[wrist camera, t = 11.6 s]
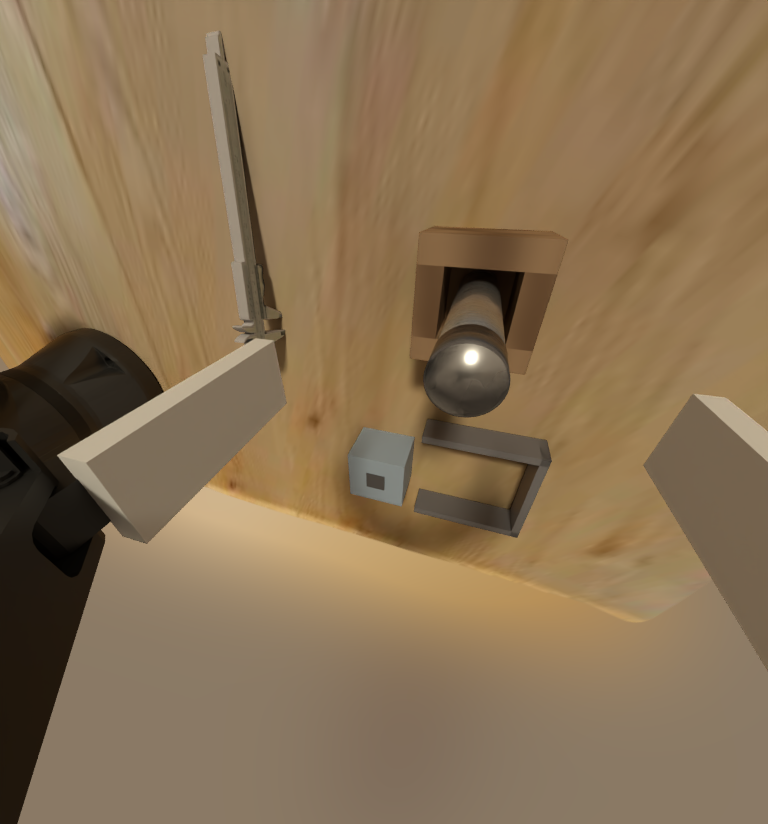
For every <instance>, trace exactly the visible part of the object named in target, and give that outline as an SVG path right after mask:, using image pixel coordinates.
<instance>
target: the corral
mask: <svg viewBox="0 0 768 824" xmlns="http://www.w3.org/2000/svg"><path fill="white" fill-rule="evenodd" d="M422 443H427V444H432V445H437V446H442V447H447V448H452V449H457V450H462V451H467V452H472V453H477V454H482V455H487V456H492V457H497V458H502V459H507V460H512V461H517V462H522V463H527V464H528V466H527V468H526V471H525V473H524V476H523V478H522V481H521V483H520V486H519V489H518V491H517V494H516V496H515V499H514V501H513V504H512V506H511V509H510V510H509V509H505V508H500V507H496V506H492V505H488V504H483V503H479V502H475V501H471V500H466V499H462V498H458V497H453V496H449V495H445V494H441V493H436V492H432V491H428V490H424V489H419V492H418V496H417V500H416V504H415V508H414V512H417V513H421V514H425V515H429V516H433V517H437V518H441V519H444V520H448V521H452V522H456V523H460V524H464V525H468V526H472V527H476V528H480V529H484V530H488V531H492V532H496V533H500V534H504V535H508V536H512V537H516V538H517V537H518V535H519V533H520V530H521V528H522V526H523V524H524V522H525V519H526V517H527V515H528V513H529V510H530V508H531V506H532V504H533V502H534V499H535V497H536V495H537V493H538V491H539V488H540V486H541V484H542V482H543V479H544V477H545V475H546V473H547V471H548V468H549V466H550V464H551V462H552V460H551V456H550V452H549V447H548V443H547V440H542V439H536V438H531V437H525V436H520V435H514V434H509V433H503V432H498V431H492V430H486V429H481V428H475V427H470V426H464V425H459V424H453V423H448V422H442V421H436V420H431V419H427V423H426V426H425V429H424V433H423V436H422Z"/></svg>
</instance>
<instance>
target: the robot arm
mask: <svg viewBox="0 0 768 824" xmlns="http://www.w3.org/2000/svg"><path fill="white" fill-rule="evenodd" d="M285 404H286V398H285V393H284V388H283V383H282V378H281V373H280V368H279V363H278V358H277V353H276V348H275V343H274V341H273V340H266V339H258V338H255V339H254V340H252V341H250V342H249V343H247V344H245V345H244V346H242V347H240V348H238V349H237V350H235V351H233V352H232V353H230V354H228V355H227V356H225V357H223V358H221V359H220V360H218V361H216V362H215V363H213V364H211V365H210V366H208V367H206V368H204V369H203V370H201V371H199V372H198V373H196V374H194V375H193V376H191V377H189V378H187V379H186V380H184V381H182V382H181V383H179V384H177V385H176V386H174V387H172V388H170V389H169V390H167V391H165V392H164V393H162V390H161V388H160V386H159V384H158V382H157V381H156V379H155V378H154V376H153V375H152V373H151V372H150V370H149V369H148V368H147V367H146V365H145V364H144V363H143V362H142V361H141V360H140V359H139V358H138V357H137V356H136V355H135V354H134V353H133V352H132V351H131V350H130V349H128V348H127V347H126V346H125V345H123V344H122V343H121V342H119V341H118V340H116V339H115V338H113V337H111V336H109V335H107V334H105V333H103V332H101V331H98V330H95V329H89V328H82V329H78V330H75V331H72V332H69V333H65V334H63V335H60V336H58V337H57V338H56V339H54V340H53V341H52V342H50V343H49V344H47V345H46V346H45V347H43V348H42V349H41V350H39V351H38V352H37V353H35V354H34V355H33V356H31V357H30V358H29V359H27V360H26V361H24V362H23V363H22V364H20V365H19V366H17V367H14V368H12V369H9V370H6V371H3V372H0V824H17V823H18V820H19V816H20V813H21V810H22V807H23V804H24V800H25V797H26V794H27V791H28V787H29V784H30V781H31V778H32V775H33V771H34V768H35V765H36V762H37V759H38V755H39V752H40V749H41V746H42V743H43V739H44V736H45V733H46V730H47V726H48V723H49V720H50V717H51V713H52V710H53V707H54V704H55V701H56V698H57V694H58V691H59V688H60V685H61V681H62V678H63V675H64V672H65V669H66V666H67V662H68V659H69V656H70V653H71V649H72V646H73V643H74V640H75V637H76V633H77V630H78V627H79V624H80V621H81V617H82V614H83V610H84V608H85V604H86V601H87V598H88V595H89V592H90V588H91V585H92V582H93V579H94V576H95V572H96V569H97V566H98V563H99V559H100V556H101V553H102V550H103V547H104V544H105V534H104V533H103V532H102V531H101V529H102V528H103V527H105V526H106V525H107V524H108V523H109V522H110V521H111V522H112V523H113V525H114V526H115V527H116V528H117V530H118V531H119V532H120V533H121V535H122V536H124V537H127V538H130V539H133V540H137V541H140V542H143V543H146V544H147V543H148V542H149V541H150V540H151V539H152V538H153V537H154V536H155V535H156V534H157V533H158V532H159V531H160V530H161V529H162V528H163V527H164V526H165V525H166V524H167V523H168V522H169V521H170V520H171V519H172V518H173V517H174V516H175V515H176V514H177V513H178V512H179V511H180V510H181V509H182V508H183V507H184V506H185V505H186V504H187V503H188V502H189V501H190V500H191V499H192V498H193V497H194V496H195V495H196V494H197V493H198V492H199V491H200V490H201V489H202V488H203V487H204V486H205V485H206V484H207V483H208V482H209V481H210V480H211V479H212V478H213V477H214V476H215V475H216V474H217V473H218V472H219V471H220V470H221V469H222V468H223V467H224V466H225V465H226V464H227V463H228V462H229V461H230V460H231V459H232V458H233V457H234V456H235V455H236V454H237V453H238V452H239V451H240V450H241V449H242V448H243V447H244V446H245V445H246V444H247V443H248V442H249V441H250V440H251V439H252V438H253V437H254V436H255V434H256V433H257V432H258V431H259V430H260V429H261V428H262V427H263V426H264V425H265V424H266V423H267V422H268V421H269V420H270V419H271V418H272V417H273V416H274V415H275V414H276V413H277V412H278V411H279V410H280V409H281V408H282V407H283V406H284V405H285ZM644 467H645V469H646V470H647V472H648V474H649V475H650V477H651V479H652V480H653V482H654V484H655V485H656V487H657V489H658V490H659V492H660V494H661V495H662V497H663V499H664V500H665V502H666V504H667V505H668V507H669V508H670V510H671V512H672V513H673V515H674V517H675V518H676V520H677V522H678V523H679V525H680V527H681V528H682V530H683V532H684V533H685V535H686V537H687V538H688V540H689V542H690V543H691V545H692V547H693V548H694V550H695V552H696V553H697V555H698V556H699V558H700V560H701V561H702V563H703V565H704V566H705V568H706V570H707V571H708V573H709V575H710V576H711V578H712V580H713V581H714V583H715V585H716V586H717V588H718V590H719V591H720V593H721V595H722V596H723V598H724V600H725V601H726V603H727V604H728V606H729V608H730V609H731V611H732V613H733V614H734V616H735V618H736V619H737V621H738V623H739V624H740V626H741V628H742V629H743V631H744V632H745V634H746V636H747V637H748V639H749V641H750V643H751V644H752V646H753V648H754V649H755V651H756V653H757V654H758V656H759V657H760V659H761V661H762V662H763V664H764V666H765V667H766V669H767V671H768V431H767V430H765V429H764V428H763V427H762V426H760V425H759V424H758V423H757V422H755V421H754V420H753V419H752V418H750V417H749V416H748V415H747V414H746V413H744V412H743V411H742V410H741V409H739V408H738V407H737V406H736V405H734V404H733V403H732V402H731V401H729V400H728V399H727V398H724V397H716V396H708V395H700V394H692V396H691V397H690V399H689V400H688V402H687V403H686V404H685V406H684V407H683V409H682V410H681V412H680V413H679V415H678V416H677V417H676V419H675V420H674V422H673V423H672V425H671V426H670V427H669V429H668V430H667V432H666V433H665V435H664V436H663V438H662V439H661V440H660V442H659V443H658V445H657V446H656V448H655V449H654V451H653V452H652V453H651V455H650V456H649V458H648V459H647V461H646V462H645V463H644Z"/></svg>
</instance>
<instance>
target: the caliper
mask: <svg viewBox="0 0 768 824" xmlns="http://www.w3.org/2000/svg"><path fill="white" fill-rule="evenodd" d="M206 34H207V37H205V39H206V46H207V53H208V54H204V55H203V61H204V67H205V74H206V80H207V87H208V94H209V100H210V107H211V113H212V120H213V126H214V133H215V139H216V145H217V152H218V158H219V165H220V171H221V177H222V184H223V190H224V197H225V203H226V209H227V216H228V222H229V228H230V235H231V241H232V248H233V254H234V260H235V262H231V265H232V272H233V278H234V285H235V292H236V298H237V305H238V311H239V317H240V320H244V324H243V325H242V326H239V325H237V326H232V327H233V328H234V329H235V330H237V331H239V332H245V334H241V335H239V336H238V337H237V338H236V339H235V342H240V343H244V344H247V343H249V342H250V341H252V340H254V339H255V338H258V339H266V340H273V341H274V342H275V341H277V340H278V339H280V338H281V337H283V336H284V334H285V330H277V329H276V330H269V331H265V330H264V321H263V319H278V318H279V317H282V314H281V312H280V311H277V310H275V309H273V308H271V307H268V306H266V305H264V300H263V296H264V288H265V284H264V280H263V267H262V265H261V264H256V257H255V250H254V242H253V235H252V227H251V220H250V212H249V204H248V197H247V189H246V182H245V174H244V166H243V158H242V150H241V142H240V134H239V126H238V118H237V110H236V103H235V95H234V90H233V85H232V81H231V76H230V71H229V67H228V63H227V62H226V61H225V56H224V47H223V40H222V35H221V32H220V31H215V32H211V33H206Z"/></svg>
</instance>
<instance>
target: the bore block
mask: <svg viewBox="0 0 768 824" xmlns="http://www.w3.org/2000/svg"><path fill="white" fill-rule="evenodd" d="M567 243H568V239H566V238H564V237H562V236H560V235H558V234H556V233H554V232H552V231H532V230H508V229H485V228H462V227H439V226H434V227H432V228H429V229H427V230H424V231H421V232H419V241H418V254H417V267H416V281H415V294H414V308H413V321H412V334H411V348H410V358H411V359H418V360H425V361H428V360H429V358H430V356H431V353H432V351H433V348H434V346H435V344H436V342H437V341H438V339H439V336H440V334H441V331H442V329H443V326H444V324H445V321H446V319H447V316H448V314H449V311H450V308H451V306H452V303H453V301H454V298H455V296H456V293H457V291H458V288H459V286H460V283H461V281H462V280H463V279H464V277H465V276H466V275H468V274H469V273H471V272H473V271H476V270H487V271H489V272H491V273H493V274H494V275H495V276H496V278H497V279H498V282H499V286H500V296H501V306H502V316H503V326H504V336H505V346H506V349H507V353H508V363H509V372H510V373H515V374H522V375H525V374H526V370H527V367H528V364H529V361H530V358H531V355H532V352H533V349H534V346H535V343H536V339H537V336H538V333H539V330H540V327H541V324H542V321H543V318H544V315H545V312H546V308H547V305H548V302H549V299H550V296H551V293H552V290H553V287H554V284H555V281H556V277H557V274H558V271H559V268H560V265H561V262H562V259H563V256H564V253H565V249H566V246H567Z"/></svg>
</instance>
